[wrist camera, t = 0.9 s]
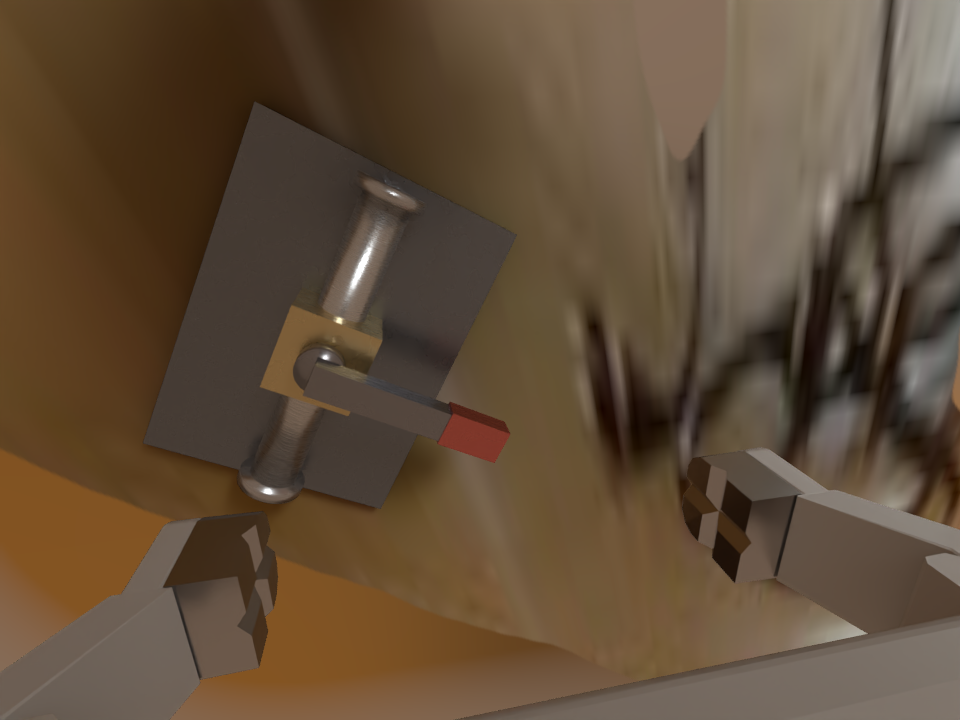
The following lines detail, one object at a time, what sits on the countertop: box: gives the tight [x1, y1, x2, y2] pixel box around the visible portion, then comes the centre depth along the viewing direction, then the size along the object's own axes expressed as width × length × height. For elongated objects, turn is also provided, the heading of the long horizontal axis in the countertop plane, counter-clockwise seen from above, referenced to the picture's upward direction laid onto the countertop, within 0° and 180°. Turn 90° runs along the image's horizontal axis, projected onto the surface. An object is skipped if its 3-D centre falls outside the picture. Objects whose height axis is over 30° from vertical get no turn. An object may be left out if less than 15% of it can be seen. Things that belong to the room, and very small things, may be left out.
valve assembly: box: [143, 101, 517, 509], centre depth 41 cm, size 30×22×7 cm
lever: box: [293, 343, 510, 463], centre depth 38 cm, size 17×4×4 cm, turn 64°
